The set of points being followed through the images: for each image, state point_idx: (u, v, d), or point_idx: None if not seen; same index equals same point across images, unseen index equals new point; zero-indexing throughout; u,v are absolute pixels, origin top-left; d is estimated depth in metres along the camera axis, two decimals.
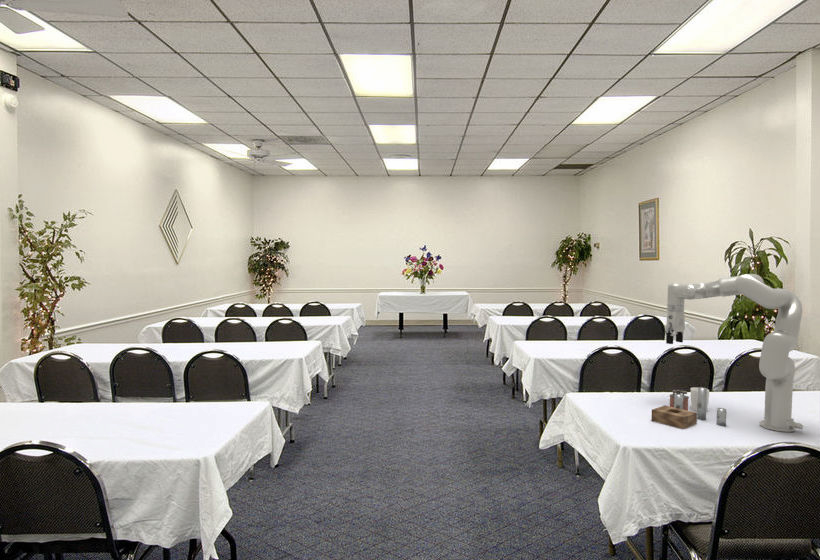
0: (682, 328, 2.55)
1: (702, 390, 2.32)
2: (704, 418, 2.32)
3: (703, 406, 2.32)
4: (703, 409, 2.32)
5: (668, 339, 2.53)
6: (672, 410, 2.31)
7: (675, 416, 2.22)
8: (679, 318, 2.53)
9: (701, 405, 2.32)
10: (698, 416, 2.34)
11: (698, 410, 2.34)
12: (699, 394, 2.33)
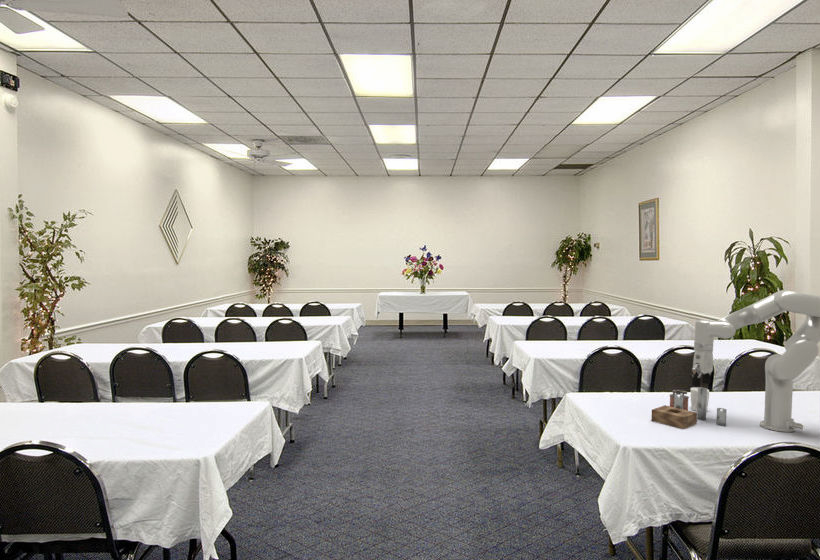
0: (710, 369, 2.32)
1: (702, 390, 2.32)
2: (704, 418, 2.32)
3: (703, 406, 2.32)
4: (703, 409, 2.32)
5: (695, 381, 2.30)
6: (672, 410, 2.31)
7: (675, 416, 2.22)
8: (708, 358, 2.30)
9: (701, 405, 2.32)
10: (698, 416, 2.34)
11: (698, 410, 2.34)
12: (699, 394, 2.33)
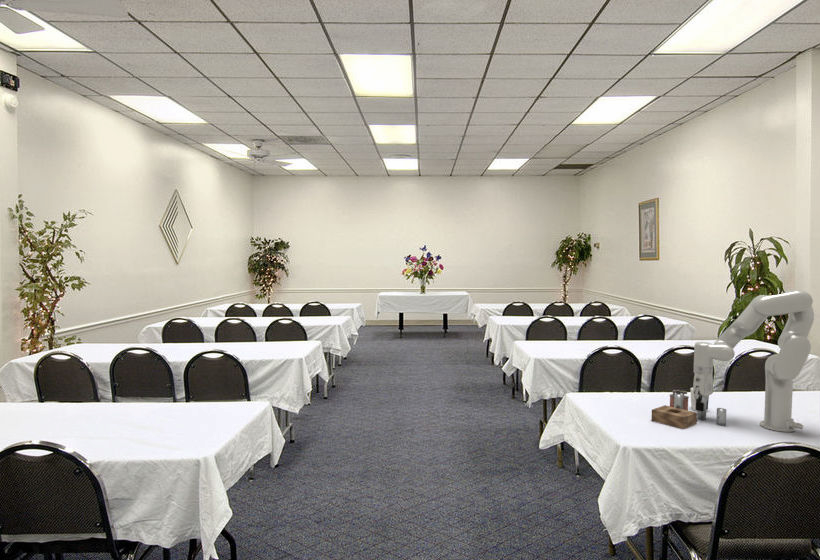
0: (710, 391, 2.32)
1: None
2: (704, 418, 2.32)
3: None
4: None
5: (698, 406, 2.32)
6: (672, 410, 2.31)
7: (675, 416, 2.22)
8: (708, 380, 2.30)
9: None
10: (698, 416, 2.34)
11: None
12: (699, 394, 2.33)
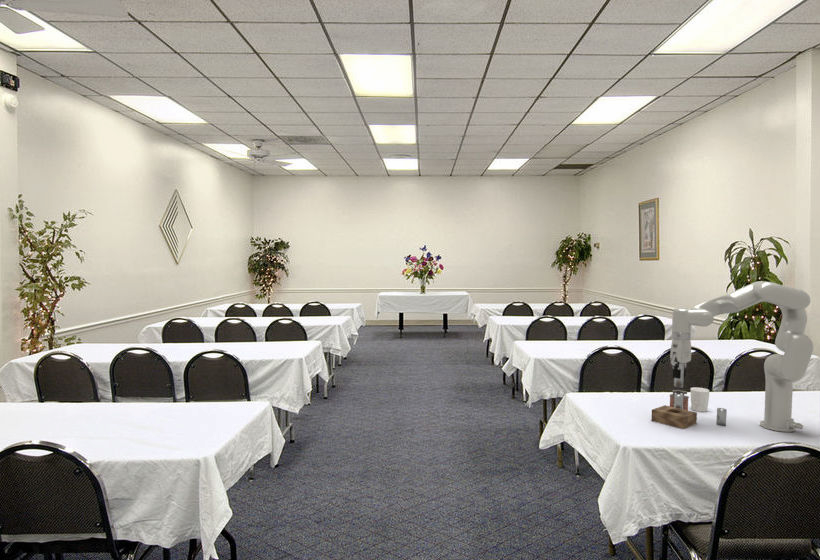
0: (688, 358, 2.27)
1: None
2: (681, 385, 2.27)
3: None
4: None
5: (675, 373, 2.27)
6: (672, 410, 2.31)
7: (675, 416, 2.22)
8: (685, 347, 2.25)
9: None
10: (675, 383, 2.29)
11: None
12: (676, 361, 2.28)
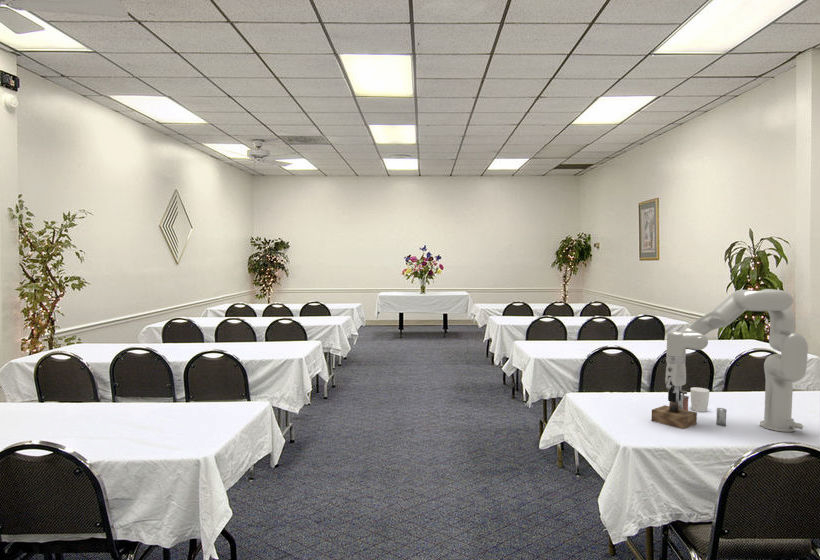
0: (683, 382, 2.27)
1: None
2: (676, 409, 2.27)
3: None
4: None
5: (670, 396, 2.26)
6: None
7: (675, 416, 2.22)
8: (680, 370, 2.25)
9: None
10: (670, 407, 2.28)
11: (670, 401, 2.28)
12: (671, 384, 2.27)
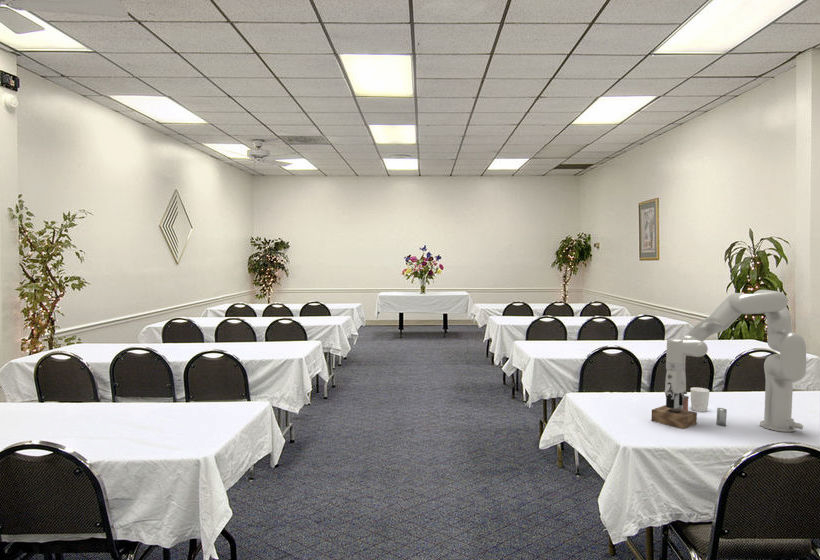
0: (683, 389, 2.27)
1: None
2: None
3: (675, 409, 2.27)
4: None
5: (668, 403, 2.25)
6: None
7: (675, 416, 2.22)
8: (680, 377, 2.25)
9: (673, 408, 2.27)
10: None
11: None
12: None
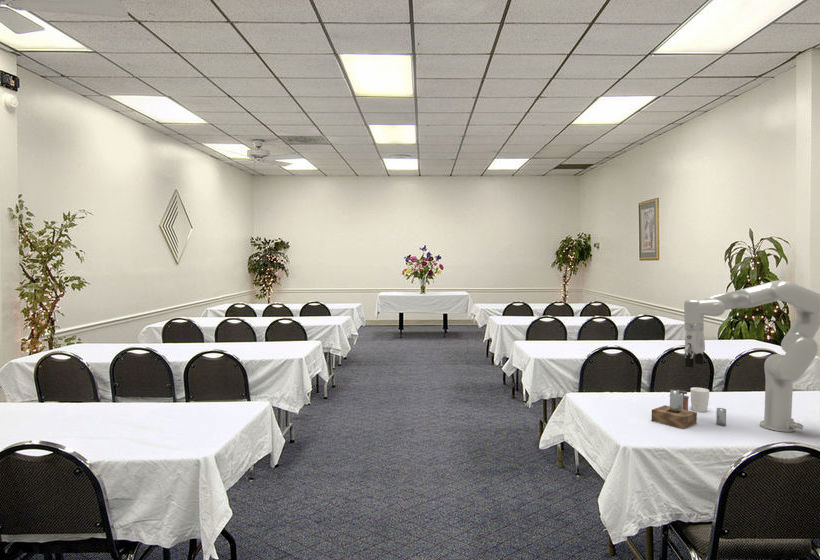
0: (702, 349, 2.29)
1: (674, 393, 2.27)
2: None
3: (675, 409, 2.27)
4: None
5: (688, 362, 2.27)
6: None
7: (675, 416, 2.22)
8: (699, 337, 2.27)
9: (673, 408, 2.27)
10: None
11: None
12: (671, 397, 2.28)
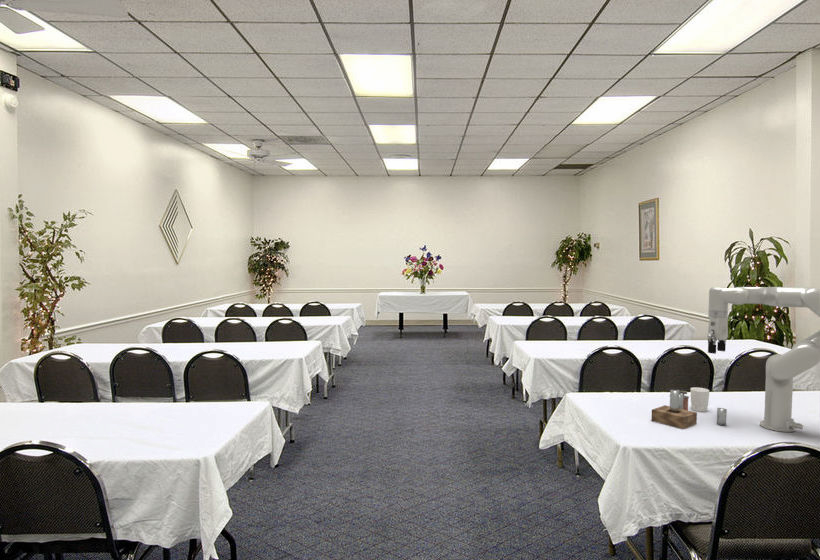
0: (725, 336, 2.33)
1: (674, 393, 2.27)
2: None
3: (675, 409, 2.27)
4: None
5: (710, 348, 2.31)
6: None
7: (675, 416, 2.22)
8: (723, 324, 2.31)
9: (673, 408, 2.27)
10: None
11: None
12: (671, 397, 2.28)
